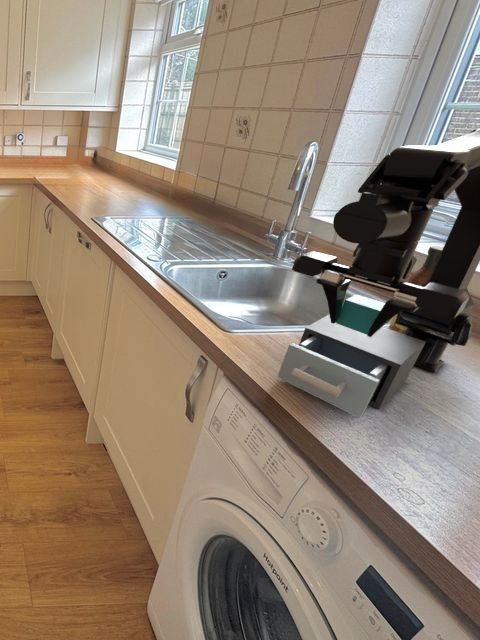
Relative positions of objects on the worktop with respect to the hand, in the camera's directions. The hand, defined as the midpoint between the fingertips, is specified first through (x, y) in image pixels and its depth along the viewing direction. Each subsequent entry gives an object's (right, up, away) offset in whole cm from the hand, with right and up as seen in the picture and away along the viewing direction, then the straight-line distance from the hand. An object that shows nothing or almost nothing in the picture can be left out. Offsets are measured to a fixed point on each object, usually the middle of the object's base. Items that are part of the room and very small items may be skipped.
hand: (351, 329), depth 65 cm
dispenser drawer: (0, -11, +4) cm, 12 cm away
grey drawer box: (+8, -10, +9) cm, 16 cm away
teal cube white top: (+3, 0, +2) cm, 3 cm away
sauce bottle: (+35, -6, +24) cm, 43 cm away
